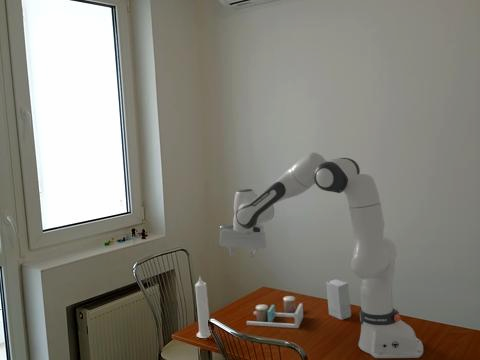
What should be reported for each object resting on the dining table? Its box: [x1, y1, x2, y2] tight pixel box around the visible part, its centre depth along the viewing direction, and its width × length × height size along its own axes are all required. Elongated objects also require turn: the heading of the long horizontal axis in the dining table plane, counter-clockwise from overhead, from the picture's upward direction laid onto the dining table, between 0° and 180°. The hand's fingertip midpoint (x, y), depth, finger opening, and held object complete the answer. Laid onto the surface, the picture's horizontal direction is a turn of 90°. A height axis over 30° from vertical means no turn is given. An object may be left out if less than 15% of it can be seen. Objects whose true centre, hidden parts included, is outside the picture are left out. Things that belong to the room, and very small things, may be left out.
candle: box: [194, 276, 211, 339], centre depth 193 cm, size 7×7×25 cm
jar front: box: [255, 304, 269, 322], centre depth 205 cm, size 5×5×6 cm
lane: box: [246, 302, 304, 329], centre depth 204 cm, size 22×11×6 cm, turn 72°
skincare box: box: [325, 278, 352, 321], centre depth 203 cm, size 8×6×15 cm
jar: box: [282, 295, 297, 314], centre depth 213 cm, size 5×5×6 cm
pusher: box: [267, 304, 279, 323], centre depth 204 cm, size 3×8×5 cm, turn 162°
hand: (242, 256), depth 209 cm, fingers open, 8 cm apart
